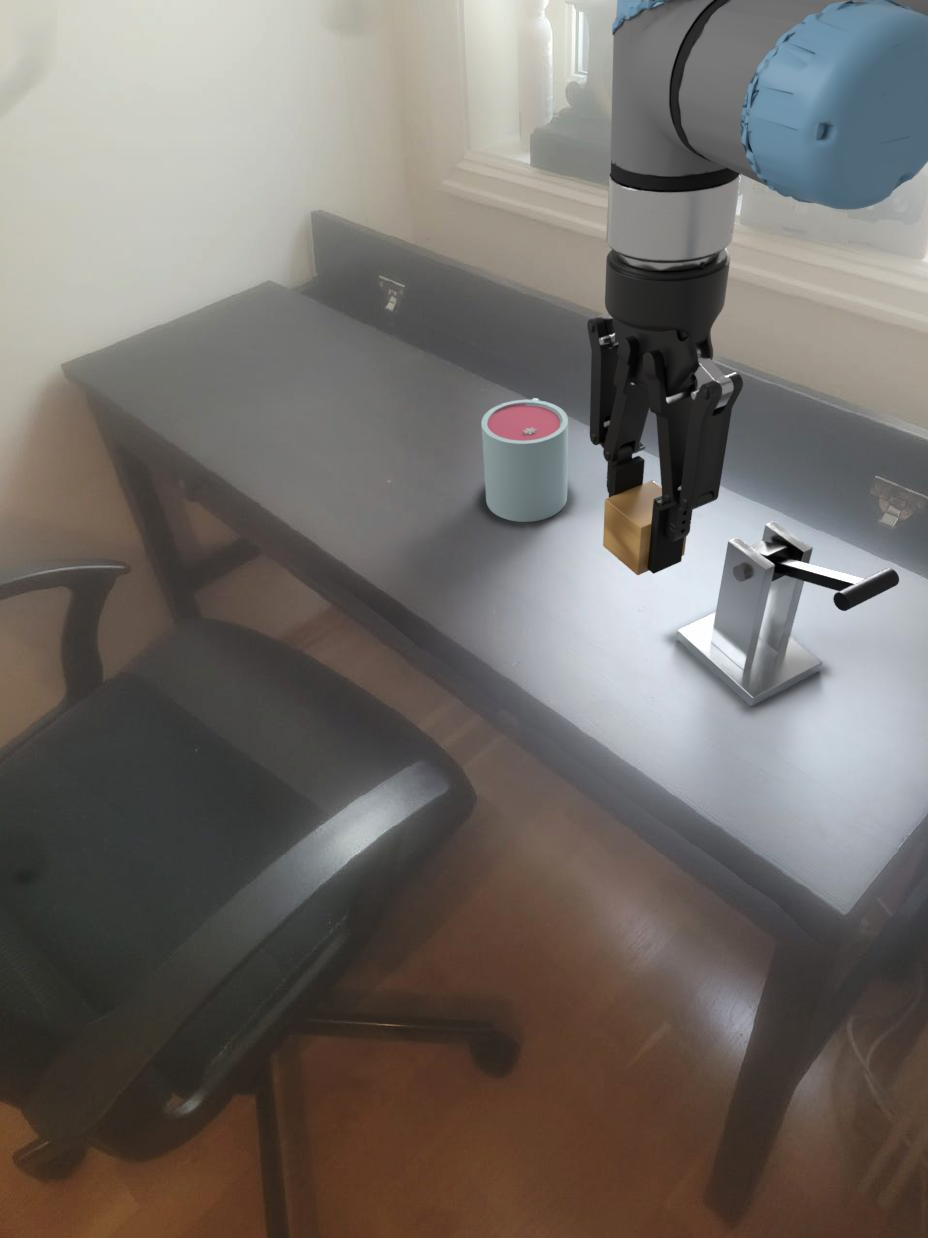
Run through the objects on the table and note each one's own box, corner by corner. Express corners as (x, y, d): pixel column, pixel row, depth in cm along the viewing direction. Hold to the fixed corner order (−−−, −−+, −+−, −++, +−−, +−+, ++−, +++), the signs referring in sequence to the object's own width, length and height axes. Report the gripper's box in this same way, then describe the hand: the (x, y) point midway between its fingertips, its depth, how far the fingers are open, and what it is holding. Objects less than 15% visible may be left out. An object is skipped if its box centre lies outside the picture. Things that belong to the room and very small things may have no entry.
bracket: (820, 671, 77) (854, 559, 68) (750, 707, 74) (777, 596, 66) (742, 607, 83) (764, 498, 75) (676, 639, 81) (690, 529, 72)
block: (684, 555, 68) (690, 507, 65) (637, 576, 67) (641, 528, 64) (648, 526, 71) (652, 479, 68) (602, 546, 70) (604, 498, 67)
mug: (560, 524, 95) (561, 446, 88) (478, 518, 97) (473, 440, 90) (576, 457, 105) (578, 381, 98) (501, 452, 107) (498, 378, 100)
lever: (900, 594, 63) (898, 564, 62) (850, 619, 62) (848, 589, 61) (778, 560, 74) (775, 534, 73) (733, 581, 72) (729, 555, 71)
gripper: (822, 274, 48) (757, 590, 64) (630, 199, 60) (615, 481, 76) (718, 309, 46) (677, 628, 62) (539, 224, 58) (543, 510, 74)
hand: (643, 547), depth 69 cm, fingers closed on block, 5 cm apart
